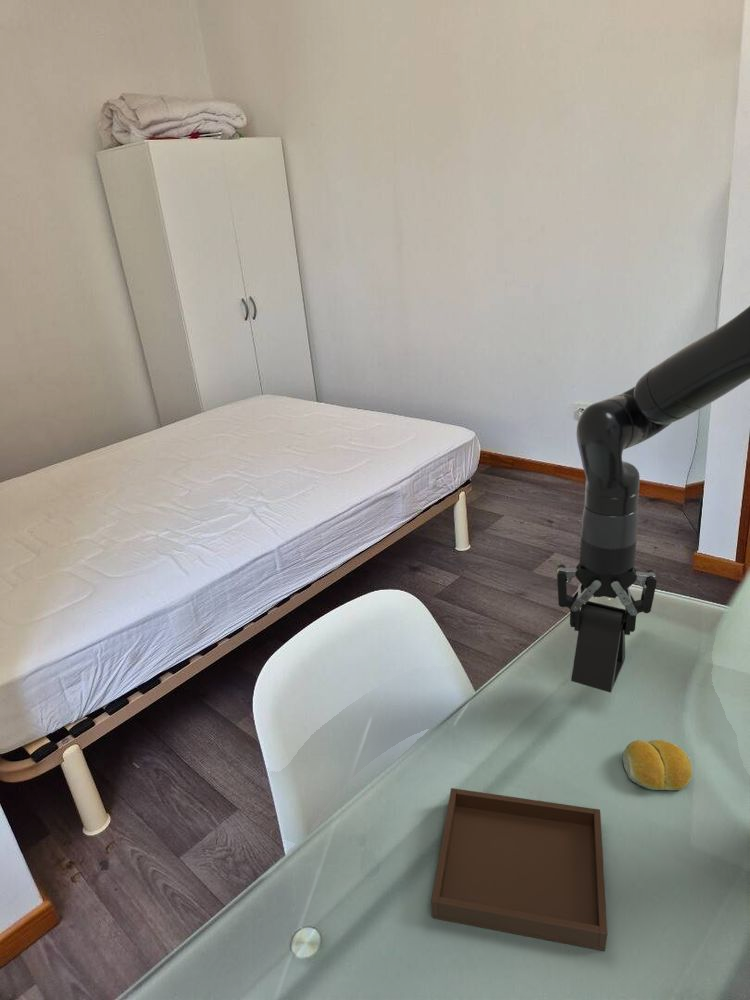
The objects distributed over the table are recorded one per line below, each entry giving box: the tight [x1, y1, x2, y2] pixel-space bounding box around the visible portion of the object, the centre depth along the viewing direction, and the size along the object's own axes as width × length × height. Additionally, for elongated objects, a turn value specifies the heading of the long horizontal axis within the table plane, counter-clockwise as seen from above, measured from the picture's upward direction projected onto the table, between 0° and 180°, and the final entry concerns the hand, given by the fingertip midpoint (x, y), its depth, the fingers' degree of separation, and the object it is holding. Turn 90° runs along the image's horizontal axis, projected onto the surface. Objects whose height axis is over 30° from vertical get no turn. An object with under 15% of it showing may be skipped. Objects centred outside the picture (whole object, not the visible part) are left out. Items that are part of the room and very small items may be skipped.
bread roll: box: [622, 739, 693, 791], centre depth 98 cm, size 8×9×4 cm
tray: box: [430, 787, 608, 952], centre depth 86 cm, size 20×17×3 cm
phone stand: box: [570, 600, 626, 693], centre depth 105 cm, size 9×6×12 cm, turn 148°
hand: (601, 629), depth 104 cm, fingers closed on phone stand, 6 cm apart
